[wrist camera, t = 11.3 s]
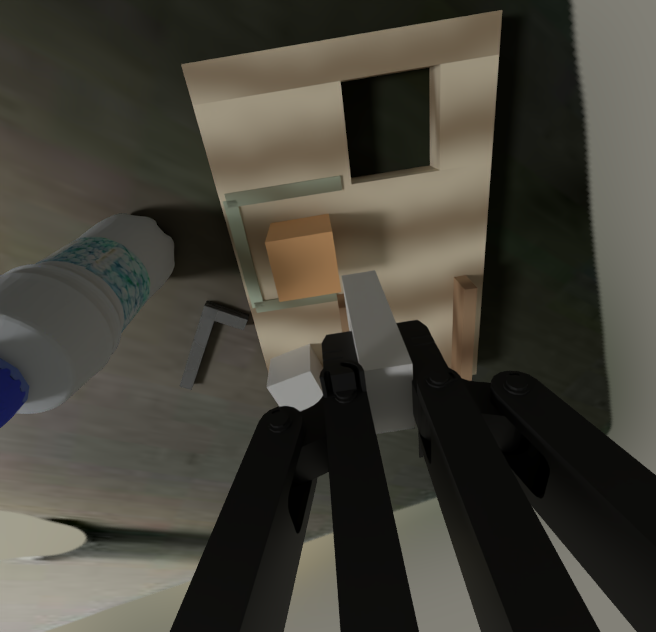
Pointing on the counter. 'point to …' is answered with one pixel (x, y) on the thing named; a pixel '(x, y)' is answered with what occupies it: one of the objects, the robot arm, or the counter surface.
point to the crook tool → (202, 335)
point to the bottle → (75, 310)
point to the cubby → (460, 329)
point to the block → (295, 378)
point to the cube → (303, 258)
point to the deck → (334, 171)
